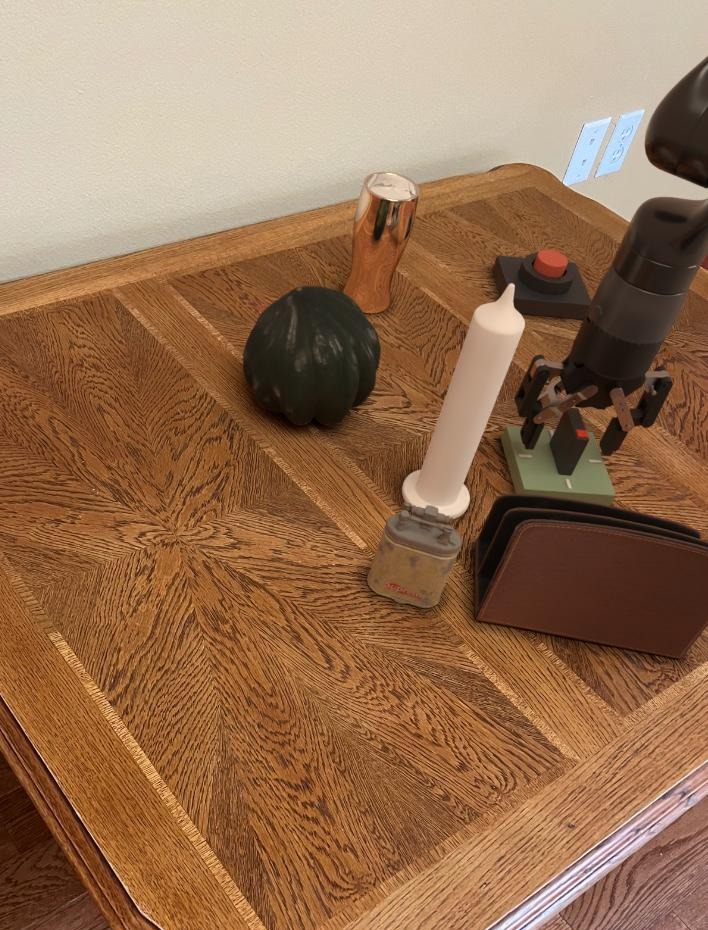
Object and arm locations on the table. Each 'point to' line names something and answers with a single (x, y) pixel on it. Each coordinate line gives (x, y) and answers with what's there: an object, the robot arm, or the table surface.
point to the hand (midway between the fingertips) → (565, 447)
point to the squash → (312, 356)
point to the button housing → (542, 288)
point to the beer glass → (380, 237)
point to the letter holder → (592, 573)
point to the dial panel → (541, 474)
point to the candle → (467, 407)
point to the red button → (550, 263)
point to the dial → (569, 441)
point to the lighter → (414, 556)
